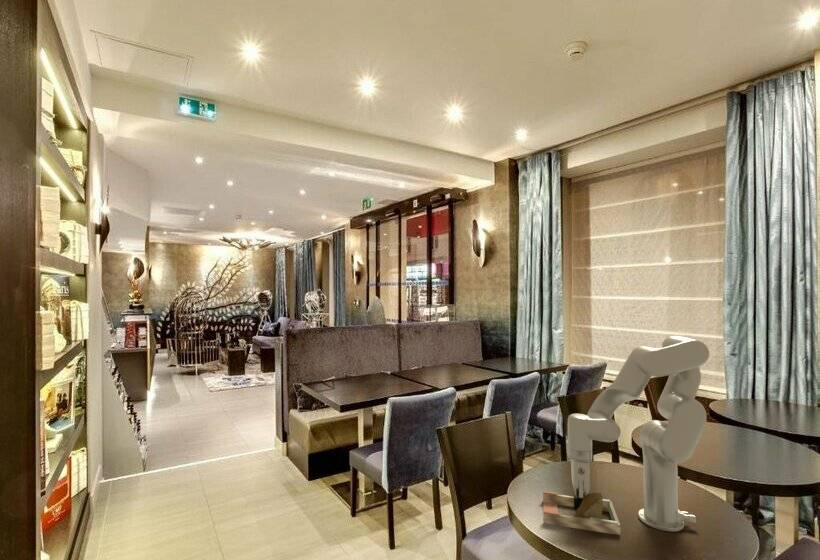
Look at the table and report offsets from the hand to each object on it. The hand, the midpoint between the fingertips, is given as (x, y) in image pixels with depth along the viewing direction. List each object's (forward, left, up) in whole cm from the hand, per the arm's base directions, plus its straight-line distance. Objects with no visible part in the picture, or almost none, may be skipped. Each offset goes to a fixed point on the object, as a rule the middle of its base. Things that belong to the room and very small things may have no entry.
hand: (579, 509), depth 138 cm
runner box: (0, 0, -2) cm, 2 cm away
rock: (-2, +2, -3) cm, 4 cm away
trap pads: (+9, 0, -2) cm, 9 cm away
